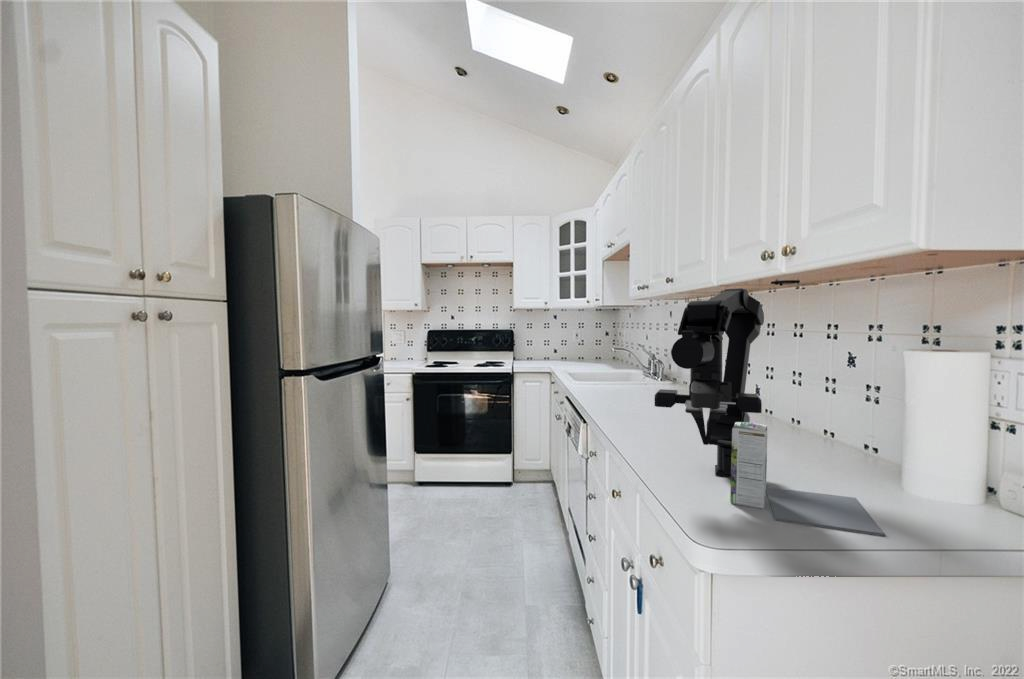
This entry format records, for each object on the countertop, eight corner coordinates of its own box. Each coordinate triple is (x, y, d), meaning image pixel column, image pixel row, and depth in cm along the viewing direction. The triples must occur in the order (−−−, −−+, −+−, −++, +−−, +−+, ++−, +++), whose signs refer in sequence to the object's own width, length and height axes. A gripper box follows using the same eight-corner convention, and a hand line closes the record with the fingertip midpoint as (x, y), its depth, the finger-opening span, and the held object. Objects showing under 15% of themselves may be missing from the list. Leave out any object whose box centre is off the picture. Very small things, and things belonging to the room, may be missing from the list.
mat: (765, 488, 92) (765, 486, 92) (855, 499, 86) (855, 497, 86) (775, 520, 77) (775, 517, 77) (885, 536, 71) (885, 533, 71)
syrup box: (732, 493, 89) (733, 420, 89) (767, 499, 86) (767, 423, 86) (730, 503, 84) (730, 426, 84) (766, 510, 81) (767, 430, 81)
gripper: (651, 367, 85) (650, 449, 85) (765, 370, 77) (764, 461, 77) (657, 362, 95) (657, 436, 95) (759, 364, 87) (758, 445, 88)
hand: (705, 444), depth 89 cm, fingers closed
